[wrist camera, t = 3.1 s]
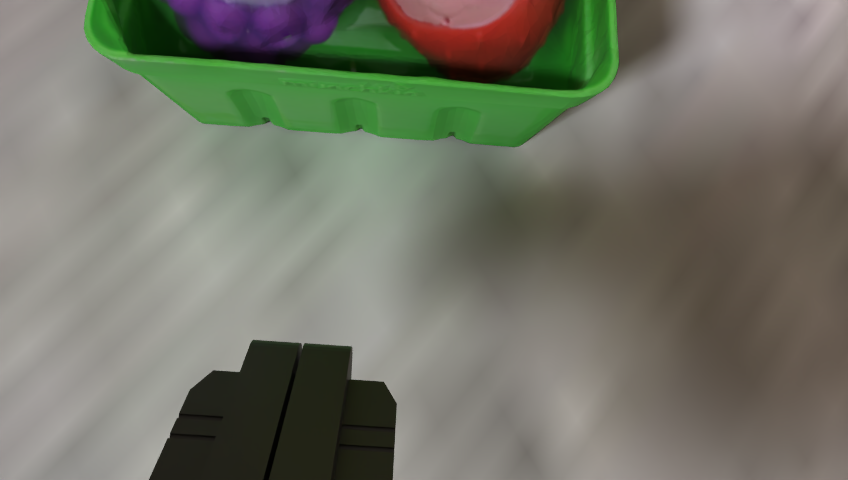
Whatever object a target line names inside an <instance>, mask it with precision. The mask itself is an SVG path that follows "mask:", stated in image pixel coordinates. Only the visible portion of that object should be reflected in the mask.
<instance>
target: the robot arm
mask: <svg viewBox="0 0 848 480" xmlns="http://www.w3.org/2000/svg"><path fill="white" fill-rule="evenodd" d="M351 371H352V347H351V346H336V345H322V344H308V343H305V344H304V346H303V349H302V345H301V343H291V342H276V341H262V340H252V342H251V344H250V346H249V349H248V352H247V354H246V357H245V360H244V362H243V365H242V368H241V370H240V372H228V371H214V370H213V371H212V372H211V373H210V374H209V375H207V376H206V377H205V378H204V379H202V380H201V381H200V382H199V383H198V384H196V385H195V386H194V387H193V388H192V389H190V391H189V393H188V395H187V397H186V400H185V402H184V404H183V406H182V408H181V411H180V413H179V418H177V419H176V422H175V424H174V426H173V428H172V430H171V433H170V438H168V439H167V441H166V443H165V446H164V448H163V450H162V452H161V454H160V457H159V459H158V461H157V463H156V465H155V468H154V470H153V472H152V474H151V476H150V479H149V480H393V463H394V444H395V425H396V406H397V403H396V402H395V400H394V398H393V397H392V395H391V393H390V392H389V390H388V388H387V387H386V385H385V383H384V382H378V381H363V380H351Z"/></svg>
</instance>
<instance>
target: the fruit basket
mask: <svg viewBox="0 0 848 480" xmlns="http://www.w3.org/2000/svg"><path fill="white" fill-rule="evenodd" d="M84 31H85V34H86V38H87V40H88V42H89V43H90V44H91V46H92V47H93V48H94V49H95V50H97V51H98V52H99V53H100V54H102V55H103V56H105V57H107V58H108V59H110V60H111V61H113V62H115V63H116V64H118V65H119V66H121V67H122V68H124V69H126V70H128V71H130V72H133V73H136V74H140V75H141V76H142V77H144V78H145V79H146V80H147V81H149V82H150V83H151V84H153V85H154V86H155V87H156V88H158V89H159V90H160V91H161V92H163V93H164V94H165V95H166V96H168V97H169V98H170V99H171V100H173V101H174V102H175V103H176V104H178V105H179V106H180V107H181V108H183V109H184V110H185V111H186V112H188V113H189V114H190V115H192V116H193V117H194V118H195V119H197V120H198V121H199V122H202V123H205V124H217V125H230V126H247V127H249V126H254V125H260V124H265V123H266V122H268V121H271V122H272V123H273V124H274V125H277V126H280V127H283V128H285V129H288V130H298V131H311V132H324V133H345V132H350V131H357V130H358V129H360V128H362V129H363V130H364V131H365V132H368V133H372V134H375V135H377V136H380V137H389V138H402V139H415V140H437V139H441V138H447V137H449V136H452V135H453V136H454V137H455V138H456V139H460V140H463V141H466V142H468V143H472V144H483V145H495V146H508V147H517V146H520V145H522V144H523V143H525V142H526V141H527V140H529V139H530V138H531V137H532V136H534V135H535V134H536V133H538V132H539V131H540V130H542V129H543V128H544V127H545V126H546V125H548V124H549V123H550V122H551V121H553V120H554V119H555V118H556V117H558V116H559V115H560V114H561V113H563V112H564V111H565V110H567V109H568V108H571V107H575V106H578V105H580V104H581V103H583V102H585V101H587V100H589V99H590V98H592V97H594V96H595V95H597V94H599V93H600V92H602V91H603V90H605V89H606V88H608V87H609V85H610V84H611V83H612V81H613V80H614V78H615V76H616V74H617V70H618V66H619V51H618V34H617V16H616V0H89V1H88V6H87V10H86V15H85V23H84Z"/></svg>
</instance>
